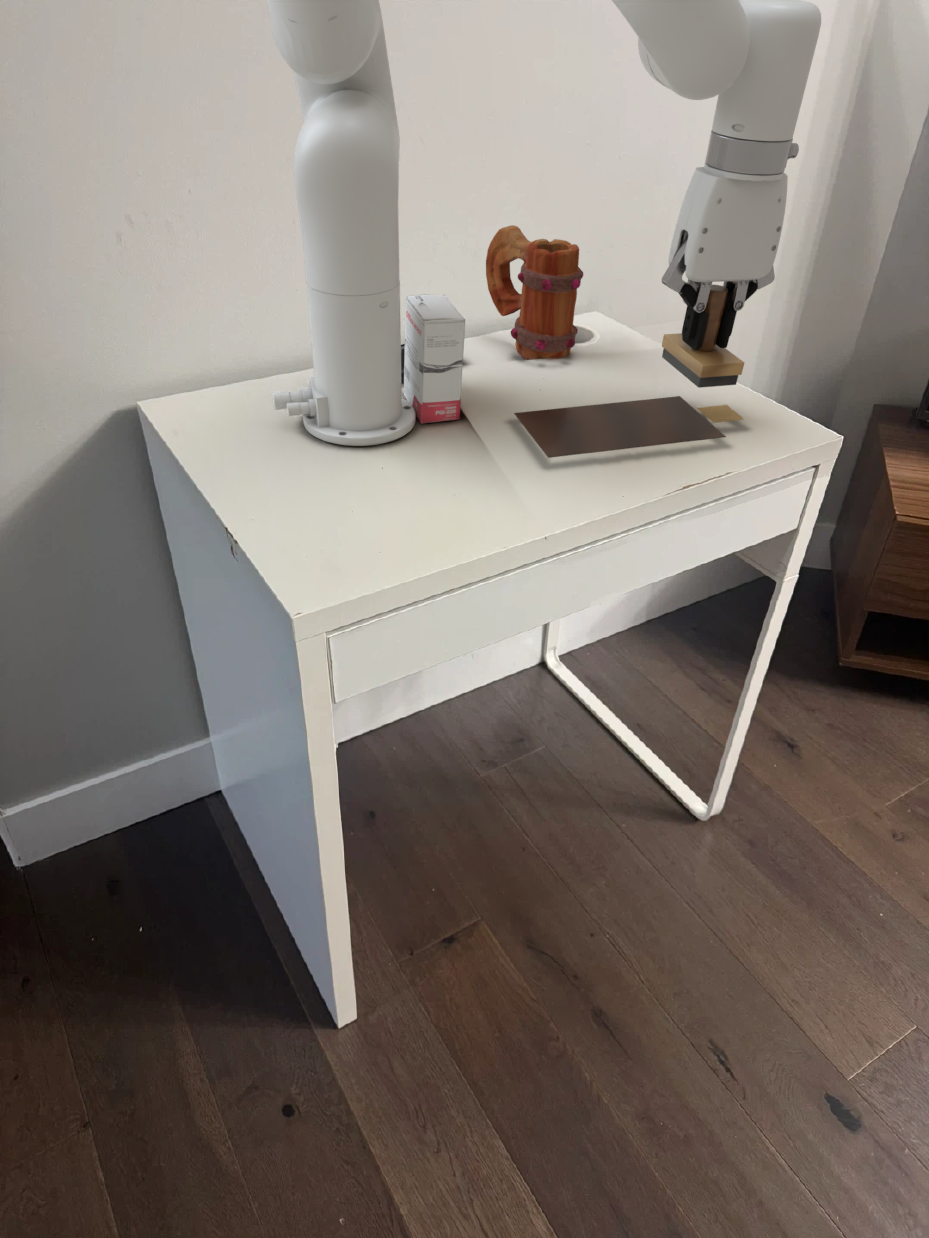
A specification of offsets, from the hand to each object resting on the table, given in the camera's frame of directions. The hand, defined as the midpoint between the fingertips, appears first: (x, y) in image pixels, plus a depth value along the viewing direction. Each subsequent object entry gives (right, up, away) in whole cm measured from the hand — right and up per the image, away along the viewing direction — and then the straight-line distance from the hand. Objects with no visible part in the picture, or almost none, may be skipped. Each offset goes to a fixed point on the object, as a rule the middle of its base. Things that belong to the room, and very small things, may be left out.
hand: (704, 343), depth 95 cm
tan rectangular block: (+3, -7, +7) cm, 11 cm away
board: (-9, -9, +4) cm, 13 cm away
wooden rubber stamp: (0, -2, +2) cm, 3 cm away
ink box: (-30, -5, +8) cm, 31 cm away
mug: (-18, +6, +23) cm, 29 cm away
